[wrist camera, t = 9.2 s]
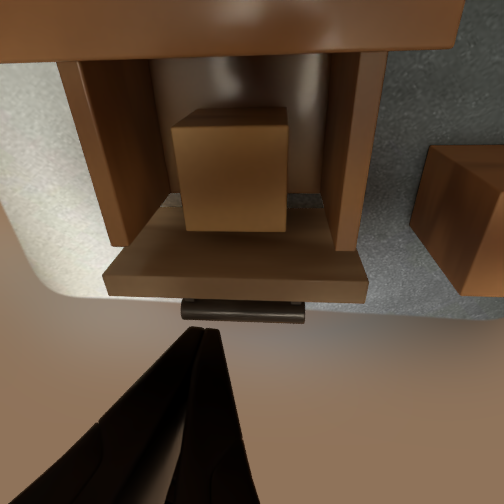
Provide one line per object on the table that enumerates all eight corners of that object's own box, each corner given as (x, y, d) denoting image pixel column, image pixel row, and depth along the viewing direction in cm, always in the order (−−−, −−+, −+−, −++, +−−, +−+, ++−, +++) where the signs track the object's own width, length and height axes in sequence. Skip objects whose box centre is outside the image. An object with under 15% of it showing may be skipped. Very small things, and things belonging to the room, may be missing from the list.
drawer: (332, 279, 22) (351, 367, 16) (169, 275, 23) (128, 357, 17) (374, -45, 13) (453, -126, 7) (108, -30, 14) (-23, -90, 8)
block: (285, 194, 18) (286, 233, 14) (205, 194, 18) (185, 232, 15) (287, 106, 16) (289, 124, 12) (195, 108, 16) (169, 126, 12)
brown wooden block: (491, 226, 20) (578, 299, 14) (408, 225, 21) (459, 296, 15) (525, 144, 18) (649, 192, 12) (429, 144, 18) (501, 192, 12)
